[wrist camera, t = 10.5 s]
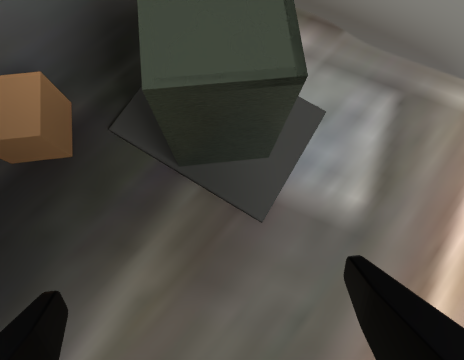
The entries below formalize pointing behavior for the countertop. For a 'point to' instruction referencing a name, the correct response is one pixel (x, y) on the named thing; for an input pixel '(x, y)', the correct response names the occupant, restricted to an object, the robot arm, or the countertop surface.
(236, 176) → the mat
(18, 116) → the block
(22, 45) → the countertop surface
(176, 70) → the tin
